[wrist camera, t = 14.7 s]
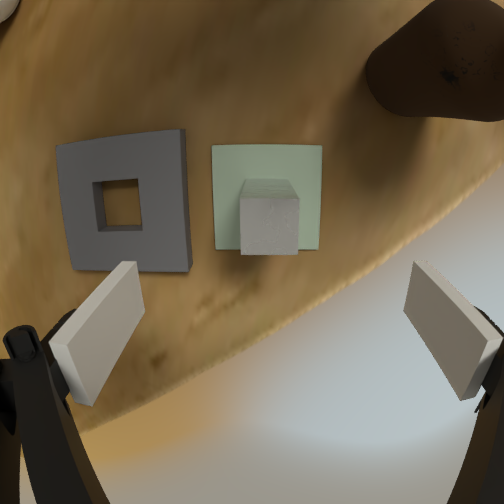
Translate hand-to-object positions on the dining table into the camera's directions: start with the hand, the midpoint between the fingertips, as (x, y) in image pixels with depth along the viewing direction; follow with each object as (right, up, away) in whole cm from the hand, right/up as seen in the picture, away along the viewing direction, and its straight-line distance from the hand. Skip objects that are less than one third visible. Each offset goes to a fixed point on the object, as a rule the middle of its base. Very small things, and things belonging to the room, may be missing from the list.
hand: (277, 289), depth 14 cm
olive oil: (+16, +22, +16) cm, 32 cm away
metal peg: (0, +8, +21) cm, 22 cm away
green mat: (+1, +8, +22) cm, 23 cm away
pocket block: (-16, +8, +22) cm, 29 cm away
